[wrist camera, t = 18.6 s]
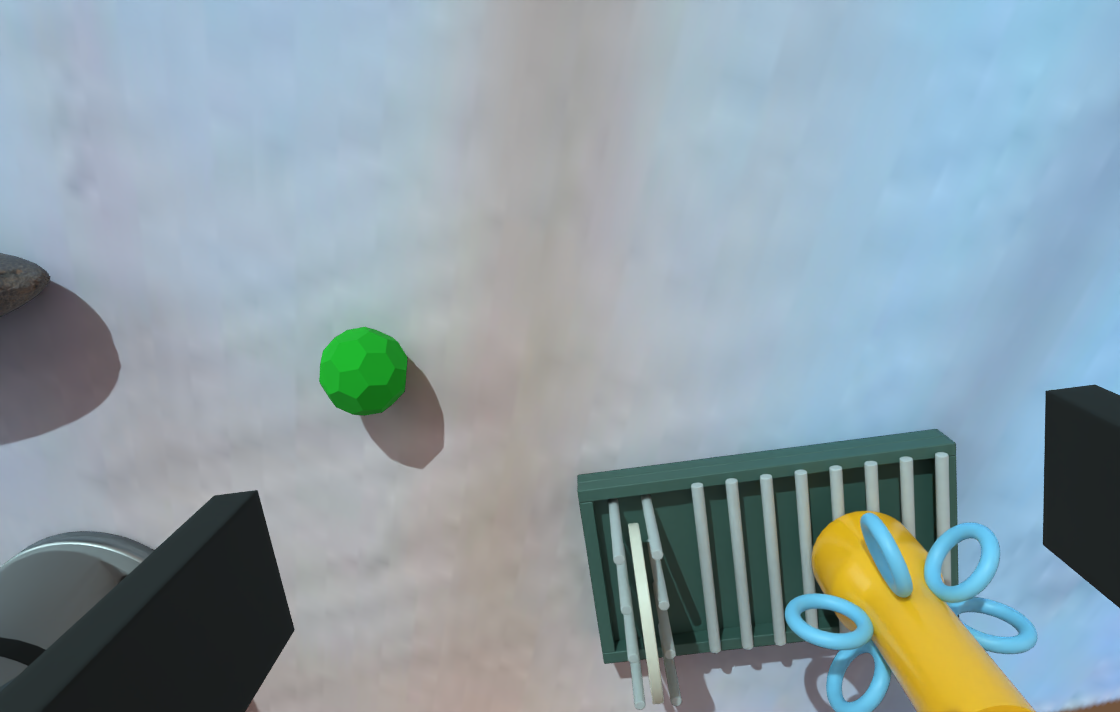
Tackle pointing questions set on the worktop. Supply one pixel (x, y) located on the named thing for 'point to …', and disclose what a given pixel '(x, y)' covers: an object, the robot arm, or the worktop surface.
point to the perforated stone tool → (19, 282)
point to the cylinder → (910, 617)
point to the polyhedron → (363, 371)
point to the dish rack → (743, 541)
